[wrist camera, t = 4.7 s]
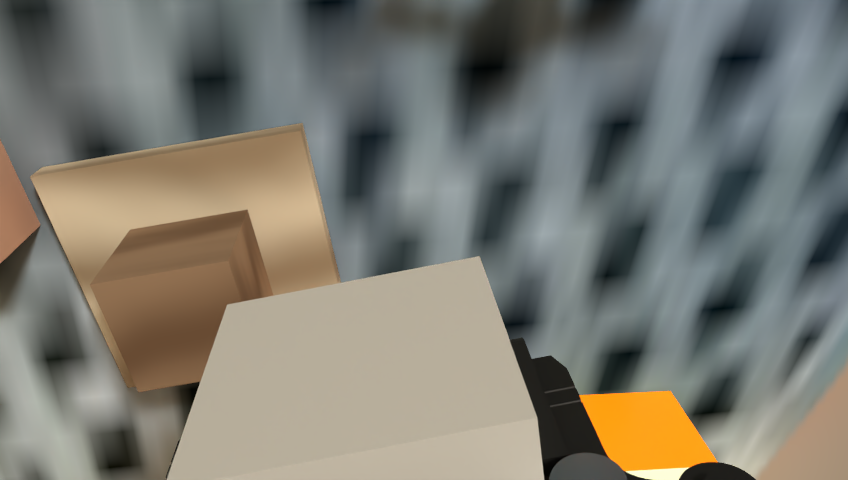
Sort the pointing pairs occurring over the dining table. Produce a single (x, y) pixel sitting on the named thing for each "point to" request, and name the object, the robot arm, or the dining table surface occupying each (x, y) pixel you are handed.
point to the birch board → (194, 205)
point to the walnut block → (177, 293)
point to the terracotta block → (13, 209)
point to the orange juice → (646, 433)
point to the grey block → (365, 386)
